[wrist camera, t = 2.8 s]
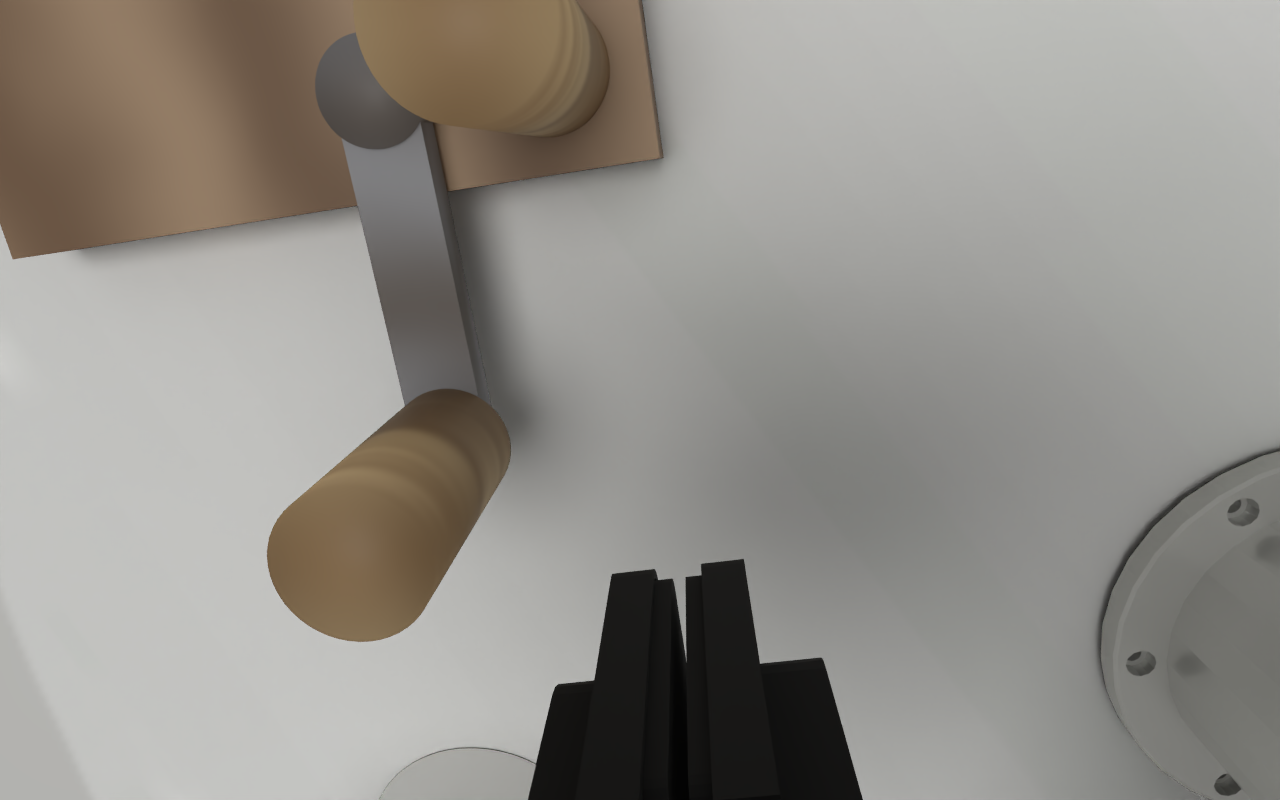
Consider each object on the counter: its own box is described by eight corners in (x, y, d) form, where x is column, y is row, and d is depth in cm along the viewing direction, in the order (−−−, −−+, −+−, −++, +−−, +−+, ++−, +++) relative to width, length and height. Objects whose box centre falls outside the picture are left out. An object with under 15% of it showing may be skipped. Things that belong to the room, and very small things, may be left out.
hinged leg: (313, 50, 20) (94, -11, 13) (437, 28, 20) (285, -47, 13) (419, 493, 24) (292, 649, 16) (527, 480, 23) (449, 633, 16)
